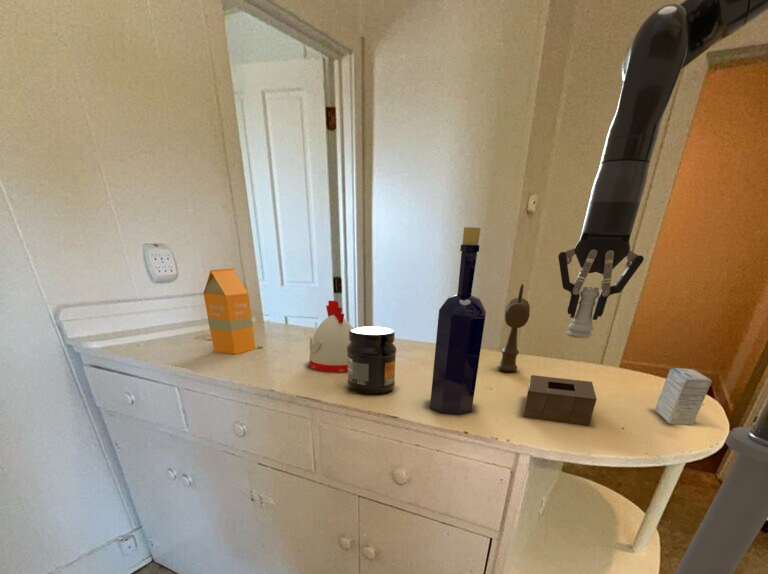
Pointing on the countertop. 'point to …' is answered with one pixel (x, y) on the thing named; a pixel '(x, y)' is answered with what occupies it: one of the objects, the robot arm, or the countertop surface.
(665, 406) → the medicine box
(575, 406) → the socket block
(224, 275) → the orange juice
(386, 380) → the supplement container
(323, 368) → the kitchen timer
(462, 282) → the bottle
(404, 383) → the countertop surface
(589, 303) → the rook chess piece
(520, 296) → the kendama
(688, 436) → the countertop surface
